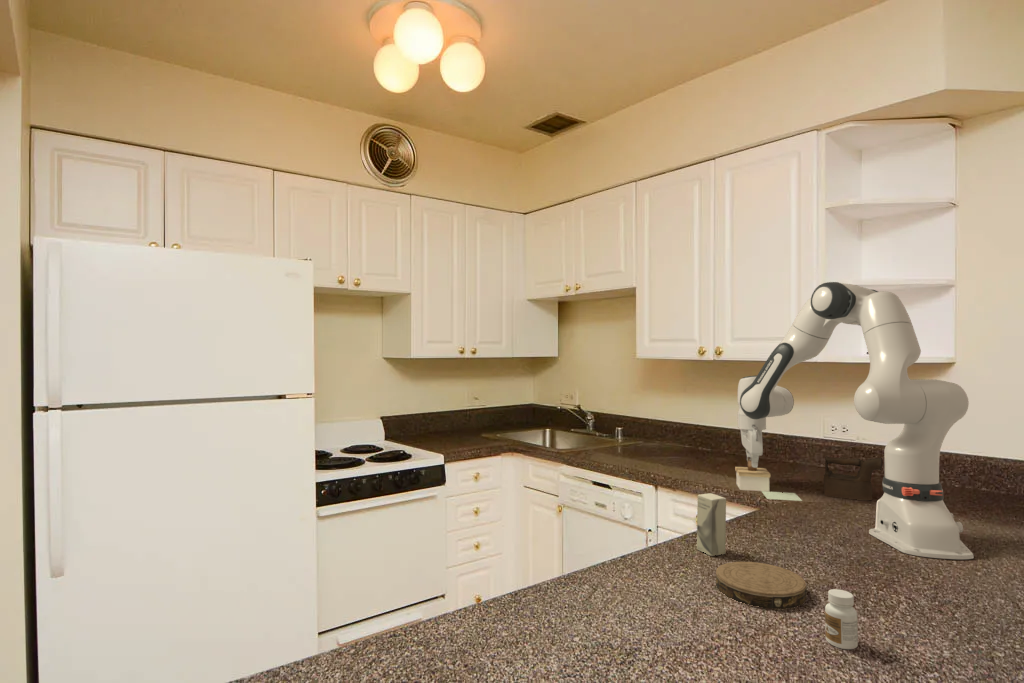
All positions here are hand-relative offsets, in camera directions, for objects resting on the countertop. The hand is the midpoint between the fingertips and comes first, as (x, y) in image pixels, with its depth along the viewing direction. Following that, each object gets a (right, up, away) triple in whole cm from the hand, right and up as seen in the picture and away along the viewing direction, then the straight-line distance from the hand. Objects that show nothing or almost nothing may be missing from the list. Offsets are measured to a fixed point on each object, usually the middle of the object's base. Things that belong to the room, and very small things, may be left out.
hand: (752, 464), depth 191 cm
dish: (0, -8, 0) cm, 8 cm away
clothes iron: (+26, -8, -12) cm, 30 cm away
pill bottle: (-29, -6, -102) cm, 106 cm away
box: (-35, -7, -61) cm, 71 cm away
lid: (0, -3, 0) cm, 3 cm away
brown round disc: (-34, -7, -82) cm, 89 cm away
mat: (+4, -8, -12) cm, 15 cm away
